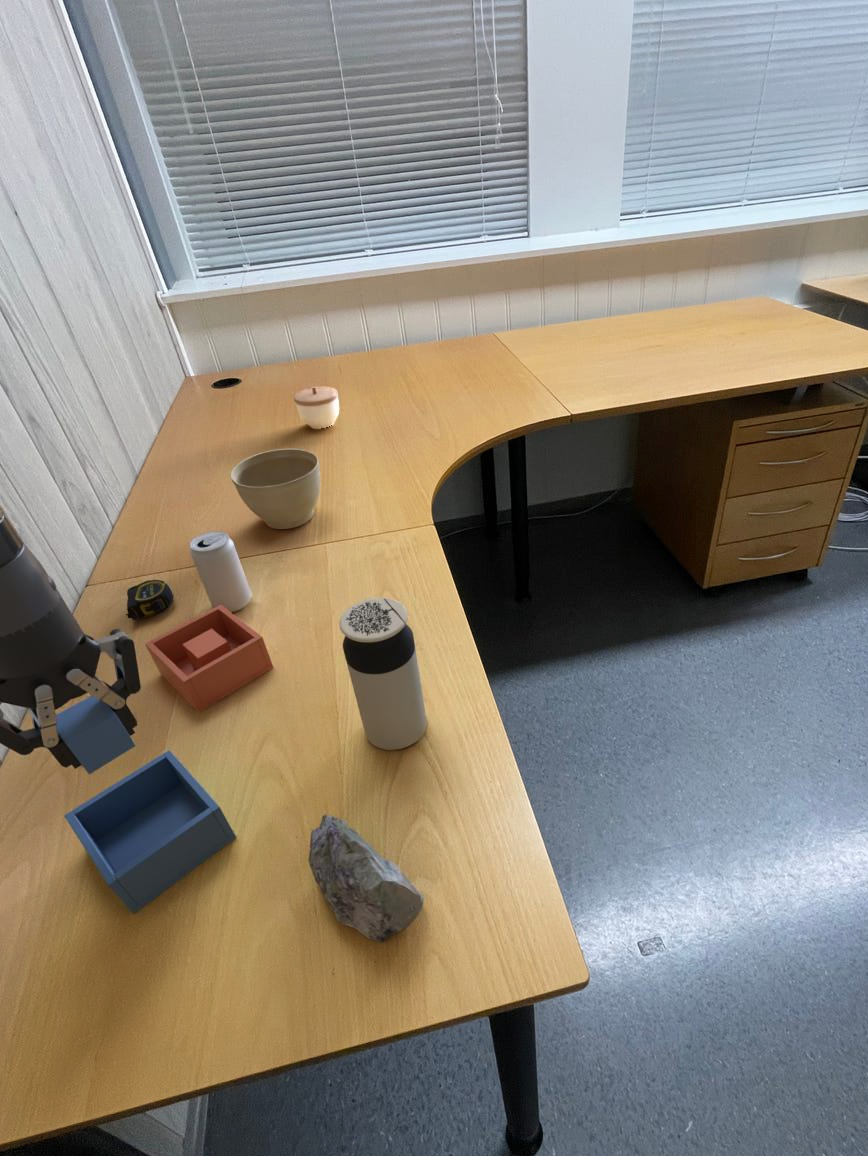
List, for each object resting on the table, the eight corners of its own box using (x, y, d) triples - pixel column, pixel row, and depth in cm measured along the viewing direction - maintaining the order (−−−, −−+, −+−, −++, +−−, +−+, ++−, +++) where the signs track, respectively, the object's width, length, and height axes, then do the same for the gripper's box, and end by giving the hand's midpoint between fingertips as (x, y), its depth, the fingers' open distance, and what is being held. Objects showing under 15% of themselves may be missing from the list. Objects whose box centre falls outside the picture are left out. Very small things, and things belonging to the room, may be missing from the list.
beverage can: (205, 605, 102) (179, 542, 94) (240, 587, 105) (217, 525, 98) (225, 620, 98) (199, 556, 91) (260, 601, 102) (238, 538, 94)
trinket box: (350, 425, 158) (342, 387, 152) (310, 436, 154) (301, 398, 148) (332, 413, 165) (325, 377, 159) (294, 424, 161) (285, 386, 155)
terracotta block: (208, 682, 87) (197, 658, 84) (193, 667, 89) (182, 644, 86) (237, 665, 89) (227, 641, 86) (221, 651, 91) (211, 628, 89)
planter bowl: (292, 491, 131) (279, 442, 124) (347, 510, 124) (336, 459, 117) (230, 525, 122) (211, 473, 115) (285, 548, 114) (269, 494, 107)
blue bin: (133, 914, 62) (107, 885, 59) (89, 845, 69) (63, 815, 65) (236, 837, 68) (219, 806, 65) (187, 780, 75) (169, 749, 71)
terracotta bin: (199, 712, 83) (183, 681, 80) (160, 674, 90) (144, 643, 86) (273, 667, 89) (262, 636, 86) (232, 634, 96) (220, 604, 92)
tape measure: (133, 602, 104) (123, 584, 101) (176, 592, 105) (168, 573, 103) (132, 626, 99) (121, 607, 96) (177, 614, 100) (168, 596, 98)
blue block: (89, 774, 58) (65, 743, 55) (71, 750, 60) (48, 719, 58) (136, 746, 60) (116, 714, 57) (117, 723, 63) (96, 692, 60)
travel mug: (375, 760, 76) (346, 649, 64) (358, 716, 81) (329, 607, 70) (436, 738, 78) (419, 627, 66) (415, 697, 83) (397, 588, 72)
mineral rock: (311, 843, 67) (288, 786, 61) (409, 819, 69) (397, 762, 63) (316, 963, 58) (290, 911, 51) (430, 932, 59) (418, 879, 53)
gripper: (79, 552, 55) (155, 688, 66) (-113, 632, 47) (10, 771, 59) (113, 582, 51) (189, 723, 62) (-90, 676, 43) (37, 816, 54)
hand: (102, 746), depth 60 cm, fingers closed on blue block, 4 cm apart
